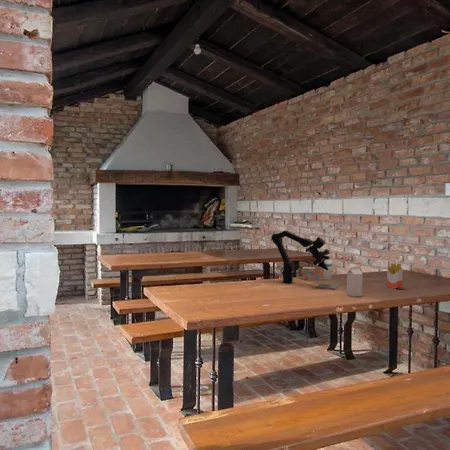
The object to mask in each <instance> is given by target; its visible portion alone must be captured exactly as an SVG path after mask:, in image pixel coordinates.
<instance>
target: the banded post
mask: <svg viewBox="0 0 450 450" xmlns="http://www.w3.org/2000/svg"><path fill="white" fill-rule="evenodd" d="M324 263H325V265H326V266H327V268H328V270H325V269H324V273H323V279H325V280H324V281H330V280H332V269H333V267H332V266H333V264H332V263H333V260H332V259H330V258H329V259H324Z"/></svg>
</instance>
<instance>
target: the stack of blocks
mask: <svg viewBox="0 0 450 450" xmlns="http://www.w3.org/2000/svg"><path fill="white" fill-rule="evenodd" d="M317 265H318V264H317ZM317 265H316V266H315V265H314V264H313V266H312V267H311V266H302V274H301V275H302V276H301V277H302V278H301V279H303V281H304V280H305V281H306V280H307V281H308V280H309V281H312V280H313V281H326V280H325V279H323V273H324V269H323V268H321V267H319V266H317Z"/></svg>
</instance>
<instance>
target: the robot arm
mask: <svg viewBox="0 0 450 450" xmlns="http://www.w3.org/2000/svg"><path fill="white" fill-rule="evenodd" d="M285 237H286V238H289V239H290V240H293V241H295V242H297V243H299V244H300V245H301V246H302V247H304V248H305V253H308V252H309V253H310V255H311V256H312V258H313V259H314V261H313V266H314V265H315V266H316V265H317V264H318V265H317V266H319V267H321V268H323V269H325V270H328V268H327V266H326V265H325V263H324V259H330V258H331V257H330V256H329V255H330V254H331V253H330V250H329V249H328V248H325V249H324V251H322V250H321V251H320V250H319V249H322V247H324V245H326V241H325V240H324V239H323V238H320V237H319V236H317V238H316V239H315V240H312V239H311V238H307V237H301V236H300V235H297V234H295V233H292V232H290V231H289V230H283V231H281V232H278V233H274V234H272V235H271V237H270V238H271V240H272V242H273V244H274V245H275V246H276V247H277V249H278V253H279V254H280V256H281V259H282V261H283V267H284V270H282V271H281V274H282V283H283V284H292V283H293V281H294V276H293V274H294V272H295V270H296V265H295V262H294V261H291V260H290V258H289V256H288V252H287V251H286V248H285V247H284V244H283V243H284V242H283V238H285Z"/></svg>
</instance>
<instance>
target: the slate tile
mask: <svg viewBox="0 0 450 450" xmlns="http://www.w3.org/2000/svg"><path fill="white" fill-rule="evenodd" d="M338 286H339V285H336V284H328V283H326V284H325V283H319V284H318V285H317V286H316V289H320V288H321V289H322V290H329V291H330V290H332V291H335V290H336V289H337V288H338Z"/></svg>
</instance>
